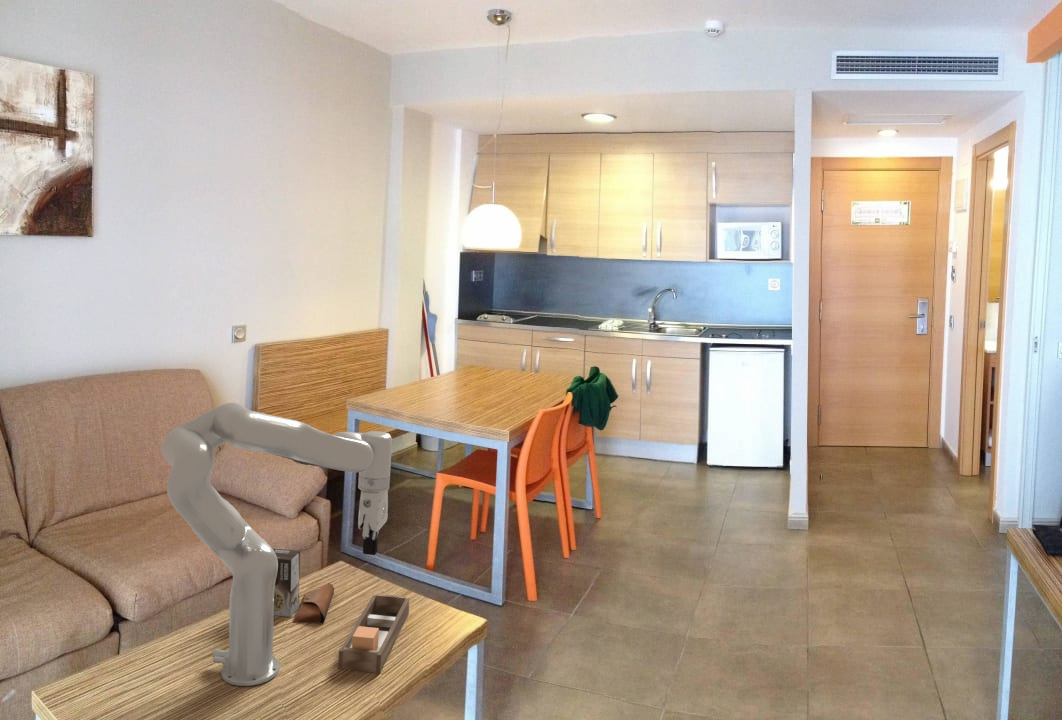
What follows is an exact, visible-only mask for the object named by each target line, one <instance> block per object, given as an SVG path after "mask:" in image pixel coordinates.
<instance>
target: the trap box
mask: <svg viewBox="0 0 1062 720" xmlns="http://www.w3.org/2000/svg"><path fill="white" fill-rule="evenodd" d="M409 615H410V598H407V596H401V595H392V594H383V593H376V594H375V595H374V594H372V597H371V598H370V600H369V601H368V603H367V604H366V605H365V608H364V609H363V611H362V613H361V614H360V616H359V617H358V619H357V621H356V622H355V624H354V626H353V628H352V629H351V630H350V632H349V634H348V635H347V637H346V639H345V641H344V642H343V643H342V645H341V647H340V648H339V650H338V669H339V670H346V671H347V670H349V671H356V672H365V673H376V674H381V672H382V671H383V668H384V666H385V664H386V662H387V660H388V658H389V656H390V654H391V651H392V650H393V649H394V645H395V644H396V641H397V639H398V637H399V635H400V634H401V631H402V630H403V627H404V625H405V623H406V621H407V619H408V617H409ZM358 626H362V627H372V628H379V637H378V649H377V650H367V649H357V648H352V638H353V635H354V633H355V631H356V630H357V628H358Z"/></svg>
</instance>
